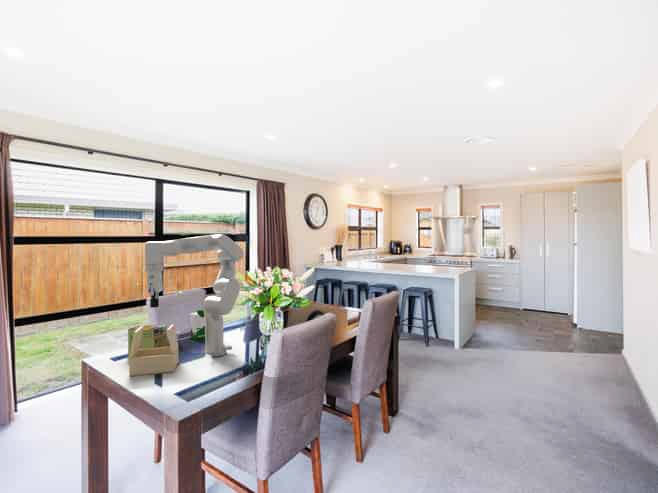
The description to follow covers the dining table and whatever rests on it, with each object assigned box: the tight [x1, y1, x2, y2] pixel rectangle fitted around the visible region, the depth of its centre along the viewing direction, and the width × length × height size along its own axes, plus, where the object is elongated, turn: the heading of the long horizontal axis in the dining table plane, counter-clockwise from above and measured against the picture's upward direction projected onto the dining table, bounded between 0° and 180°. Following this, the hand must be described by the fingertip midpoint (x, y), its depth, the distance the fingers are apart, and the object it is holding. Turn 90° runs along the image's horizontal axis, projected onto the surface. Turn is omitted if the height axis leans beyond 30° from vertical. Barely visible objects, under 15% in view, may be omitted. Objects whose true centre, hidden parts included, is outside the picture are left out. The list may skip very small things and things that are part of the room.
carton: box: [128, 346, 179, 377], centre depth 162 cm, size 18×14×8 cm
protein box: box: [127, 324, 168, 359], centre depth 181 cm, size 10×15×16 cm
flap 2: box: [167, 323, 179, 353], centre depth 164 cm, size 1×12×11 cm, turn 15°
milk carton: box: [189, 309, 205, 341], centre depth 218 cm, size 9×9×20 cm
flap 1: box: [130, 326, 144, 357], centre depth 160 cm, size 1×12×11 cm, turn 15°
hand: (154, 307), depth 162 cm, fingers closed
